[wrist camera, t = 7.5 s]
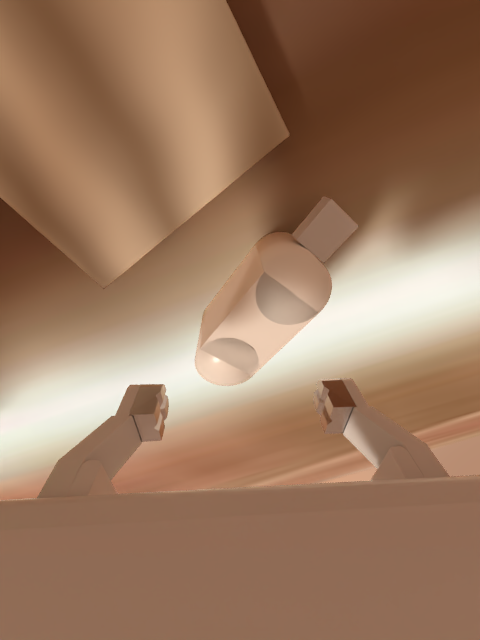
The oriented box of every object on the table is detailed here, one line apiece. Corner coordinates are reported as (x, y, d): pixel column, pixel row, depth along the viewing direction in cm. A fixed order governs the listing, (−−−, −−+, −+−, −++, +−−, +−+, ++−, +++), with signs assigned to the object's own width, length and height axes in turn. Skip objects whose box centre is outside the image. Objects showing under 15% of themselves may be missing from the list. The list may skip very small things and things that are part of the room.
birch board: (113, 280, 17) (103, 289, 16) (-89, 93, 12) (-127, 85, 11) (284, 137, 13) (289, 135, 12) (98, -242, 8) (73, -321, 7)
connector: (233, 347, 21) (233, 393, 17) (192, 325, 20) (182, 369, 15) (346, 225, 16) (388, 246, 12) (302, 182, 14) (332, 189, 10)
